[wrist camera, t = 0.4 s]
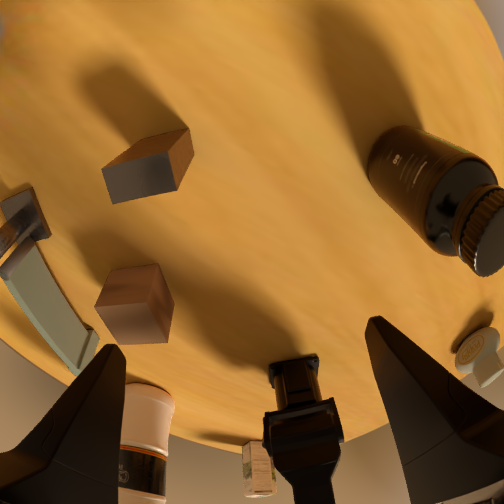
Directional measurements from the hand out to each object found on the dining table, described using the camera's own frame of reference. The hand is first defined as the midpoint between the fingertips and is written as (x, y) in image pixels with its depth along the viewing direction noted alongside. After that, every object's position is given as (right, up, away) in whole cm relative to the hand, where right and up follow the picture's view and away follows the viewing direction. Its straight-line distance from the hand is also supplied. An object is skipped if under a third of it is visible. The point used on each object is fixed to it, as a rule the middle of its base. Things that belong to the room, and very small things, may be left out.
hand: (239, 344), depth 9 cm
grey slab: (-20, -1, +16) cm, 26 cm away
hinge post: (-21, +6, +11) cm, 25 cm away
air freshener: (+43, -14, +30) cm, 54 cm away
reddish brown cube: (-10, 0, +16) cm, 19 cm away
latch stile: (-6, +10, +9) cm, 15 cm away
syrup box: (+1, -43, +46) cm, 63 cm away
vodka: (-16, -19, +29) cm, 38 cm away
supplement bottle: (+13, +10, +11) cm, 20 cm away
